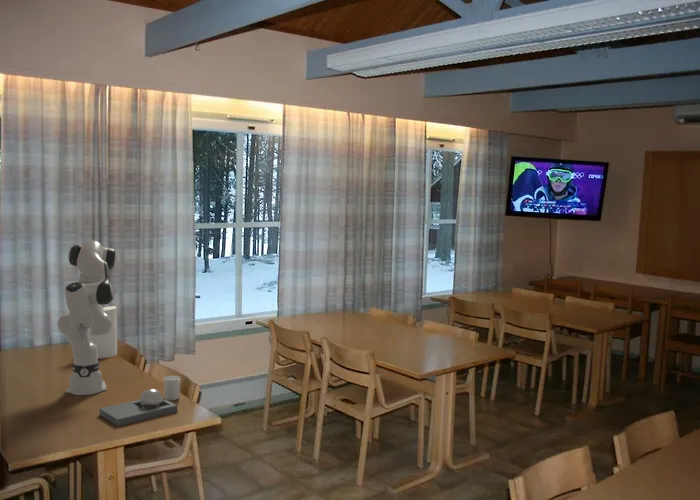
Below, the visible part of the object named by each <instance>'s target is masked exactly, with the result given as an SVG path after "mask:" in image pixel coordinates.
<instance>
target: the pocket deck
mask: <svg viewBox="0 0 700 500" xmlns="http://www.w3.org/2000/svg"><path fill="white" fill-rule="evenodd" d="M177 412H178V404H176V403H173V402H172V401H171V400H166V399H165V397H163V403H162V405H161V406H160V407H157V408H153V409H149V410H145V409H143V408H142V406H141V404H140V399H136V400H132V401H128V402H123V403H118V404H114V405H109V406H106V407H105V406H104V407H101V408H99V416H100V417H102V418H104V419H105V420H107V421H109V422H110V423H112V424H113V425H115V426H117V427H121V426H125V425H129V424H133V423H137V422H141V421H145V420H150V419H154V418H157V417H162V416H166V415H170V414H174V413H177Z"/></svg>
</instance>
